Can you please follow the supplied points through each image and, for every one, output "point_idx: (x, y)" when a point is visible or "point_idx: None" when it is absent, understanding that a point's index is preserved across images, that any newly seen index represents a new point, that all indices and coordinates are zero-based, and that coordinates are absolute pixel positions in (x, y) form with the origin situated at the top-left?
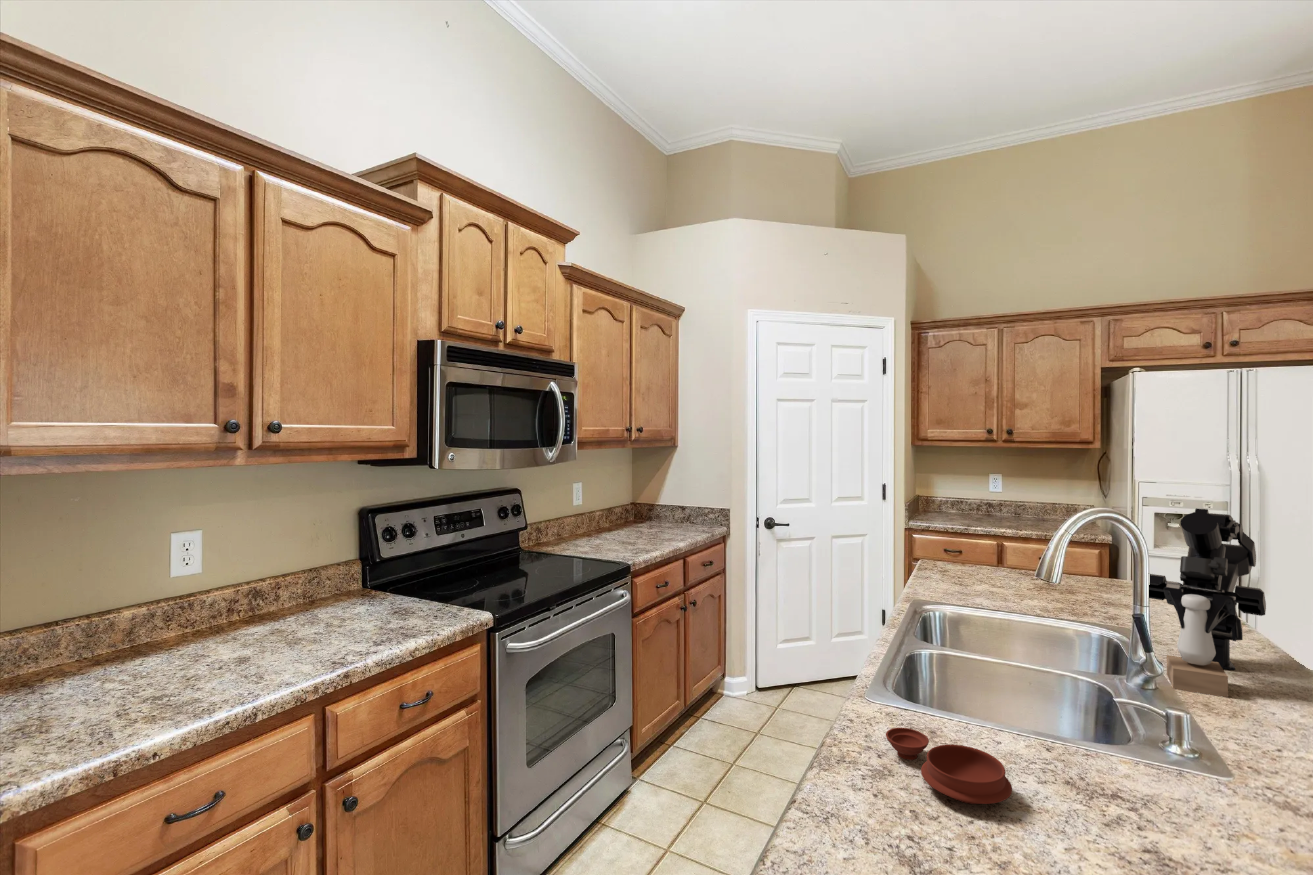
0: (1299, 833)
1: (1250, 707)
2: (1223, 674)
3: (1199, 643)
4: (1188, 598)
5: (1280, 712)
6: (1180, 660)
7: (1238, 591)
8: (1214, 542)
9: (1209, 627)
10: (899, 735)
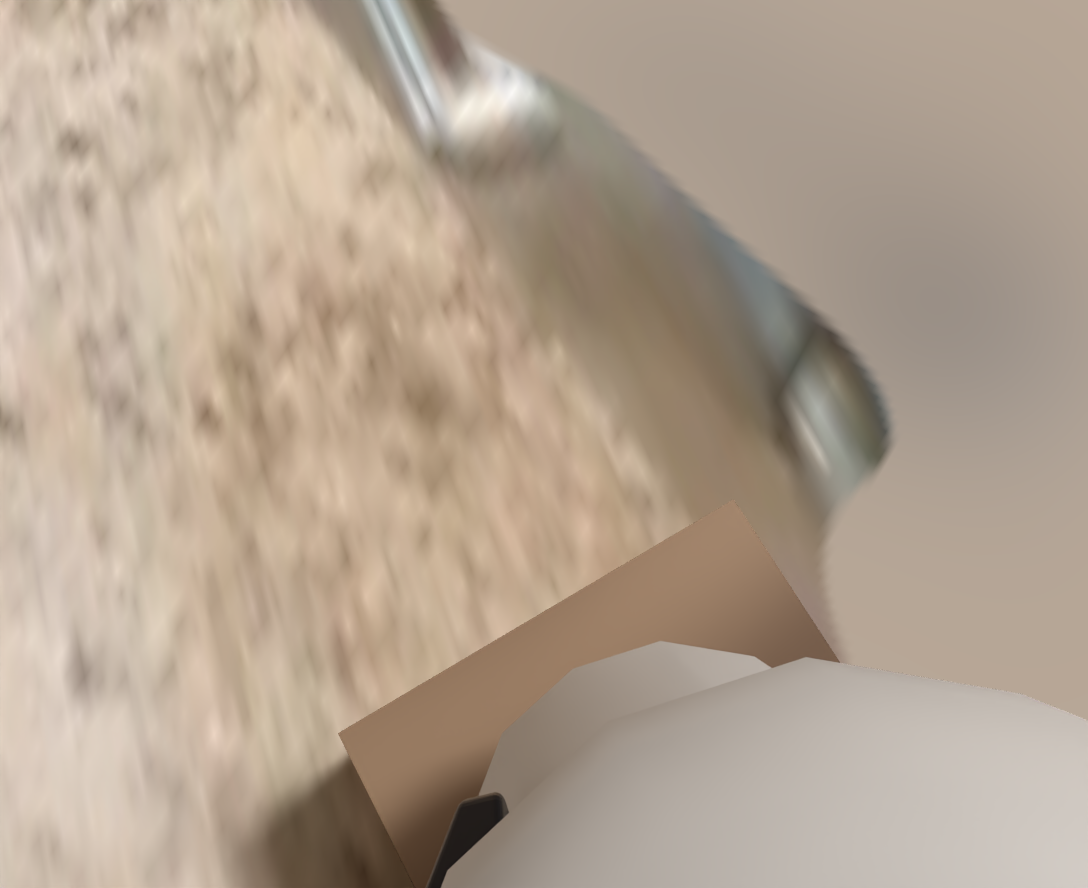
0: None
1: (217, 652)
2: (385, 763)
3: (571, 697)
4: (1025, 760)
5: (51, 746)
6: None
7: None
8: None
9: (440, 851)
10: None
